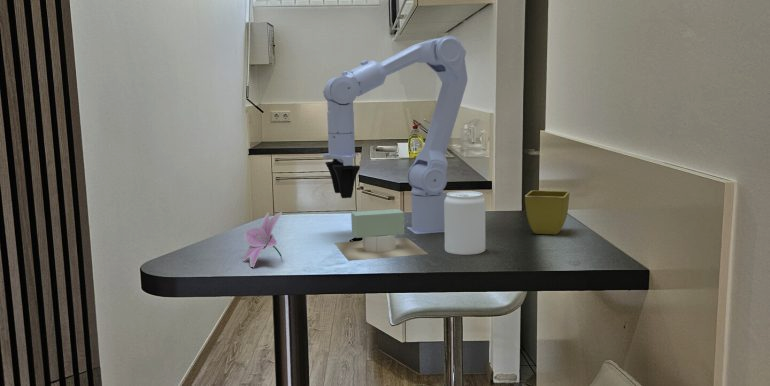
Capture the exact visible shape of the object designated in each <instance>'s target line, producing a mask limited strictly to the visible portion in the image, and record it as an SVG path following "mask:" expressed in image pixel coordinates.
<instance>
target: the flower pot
mask: <svg viewBox="0 0 770 386" xmlns="http://www.w3.org/2000/svg"><path fill="white" fill-rule="evenodd" d="M570 194H571V192H570V191H569V190H536V189H535V190H530V191H529V192H527V194H525V195H524V205H525V211H526V212H525V213H526V218H527V222H528V224H529V227H530V228H531V230H532V232H533V233H534V234H535V235H540V234H541V235H553V236H554V235H555V236H557V235H558V234H559V233H560V231H562V229H563V226H564V224H565V222H566V219H567V216H568V212H569V202H570Z"/></svg>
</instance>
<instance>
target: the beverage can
mask: <svg viewBox="0 0 770 386" xmlns="http://www.w3.org/2000/svg"><path fill="white" fill-rule="evenodd" d="M446 193H447V197H446V198H445V200H444V222H445V232H444V251H445V252H446V253H449V254H452V255H463V256H464V255H465V256H467V255H468V256H469V255H470V256H471V255H478V254H481V253H484V252H485V251H486V199H485V198H484V196H483V195H484V193H483V192H479V191H471V190H460V191H459V190H458V191H450V192H446Z"/></svg>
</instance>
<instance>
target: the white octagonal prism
mask: <svg viewBox="0 0 770 386" xmlns="http://www.w3.org/2000/svg"><path fill="white" fill-rule="evenodd" d="M396 238H397V235H390V236H376V237H363V238H362V241H363V249H364V250H365V251H370V252H386V251H391V250H394V249H396Z"/></svg>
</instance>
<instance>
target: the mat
mask: <svg viewBox="0 0 770 386" xmlns="http://www.w3.org/2000/svg"><path fill="white" fill-rule="evenodd" d="M333 244H334V245H335V246H336V247H337V249H338V250H339V251H340V252H341V254H342V255H343V256H344V258H346V260H347V261H348V262H350V261H351V262H353V261H362V260H374V259H389V258H398V257H399V258H400V257H410V256H413V257H414V256H422V255H424V256H425V255H429V253H428V252H427V251H425V250H423V249H422V248H421V247H420V246H419V245H417V244H416V243H414V242H413V241H412V240H410V239H409V238H408V237H396V249H394V250H391V251H386V252H370V251H365V250H364V249H363V240H356V241H341V242H334V243H333Z"/></svg>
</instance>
